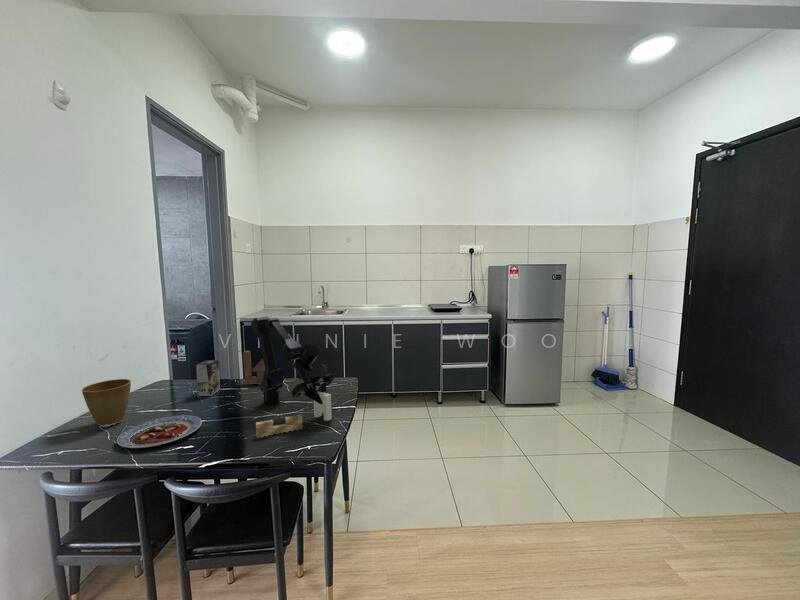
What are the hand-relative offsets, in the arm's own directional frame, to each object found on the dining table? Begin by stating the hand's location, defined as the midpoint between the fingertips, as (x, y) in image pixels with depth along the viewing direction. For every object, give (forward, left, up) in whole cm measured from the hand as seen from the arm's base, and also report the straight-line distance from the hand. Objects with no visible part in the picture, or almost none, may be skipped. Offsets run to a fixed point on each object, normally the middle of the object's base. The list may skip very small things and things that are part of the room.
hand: (324, 402), depth 138 cm
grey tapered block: (-1, +1, -7) cm, 7 cm away
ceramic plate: (-58, -13, -8) cm, 60 cm away
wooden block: (-50, +45, -7) cm, 68 cm away
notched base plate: (-14, -11, -7) cm, 19 cm away
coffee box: (-66, +30, -7) cm, 73 cm away
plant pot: (-86, -4, -7) cm, 86 cm away
